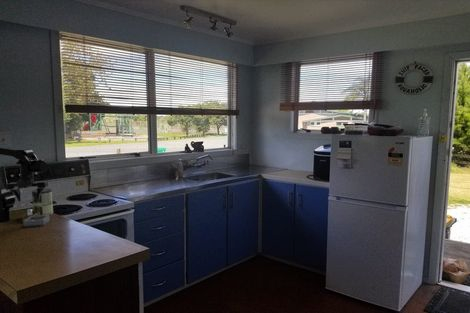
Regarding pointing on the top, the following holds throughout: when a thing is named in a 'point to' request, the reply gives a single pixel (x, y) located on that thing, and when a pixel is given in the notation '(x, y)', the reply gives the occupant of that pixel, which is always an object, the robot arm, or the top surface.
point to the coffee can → (43, 202)
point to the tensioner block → (29, 216)
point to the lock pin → (29, 212)
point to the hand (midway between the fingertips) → (28, 200)
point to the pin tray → (36, 220)
